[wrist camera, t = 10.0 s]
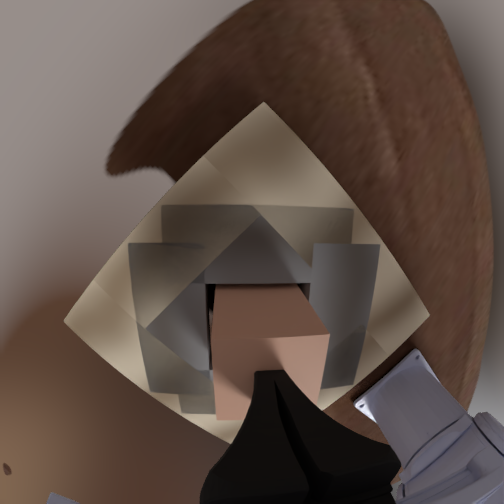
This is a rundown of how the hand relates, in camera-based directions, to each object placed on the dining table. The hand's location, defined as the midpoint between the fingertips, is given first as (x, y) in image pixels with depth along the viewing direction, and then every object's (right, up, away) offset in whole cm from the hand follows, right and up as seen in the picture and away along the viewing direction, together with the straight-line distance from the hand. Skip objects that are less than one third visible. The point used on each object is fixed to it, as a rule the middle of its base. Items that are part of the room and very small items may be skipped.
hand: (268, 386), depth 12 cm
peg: (-1, +2, +8) cm, 8 cm away
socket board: (-1, +2, +8) cm, 8 cm away
